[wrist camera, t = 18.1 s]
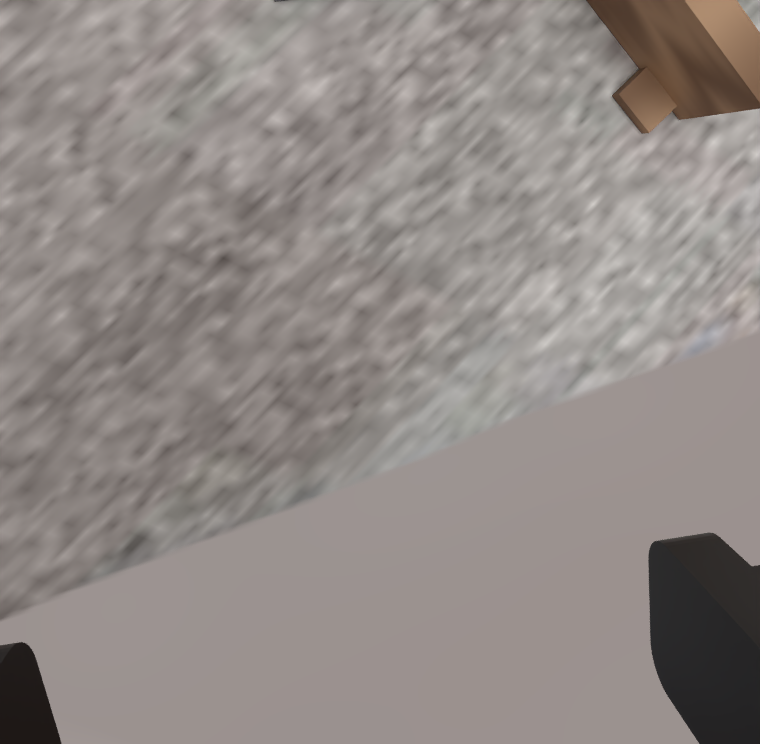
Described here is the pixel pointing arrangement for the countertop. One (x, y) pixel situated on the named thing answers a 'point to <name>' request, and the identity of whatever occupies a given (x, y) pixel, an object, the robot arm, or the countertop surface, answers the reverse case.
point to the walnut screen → (684, 57)
